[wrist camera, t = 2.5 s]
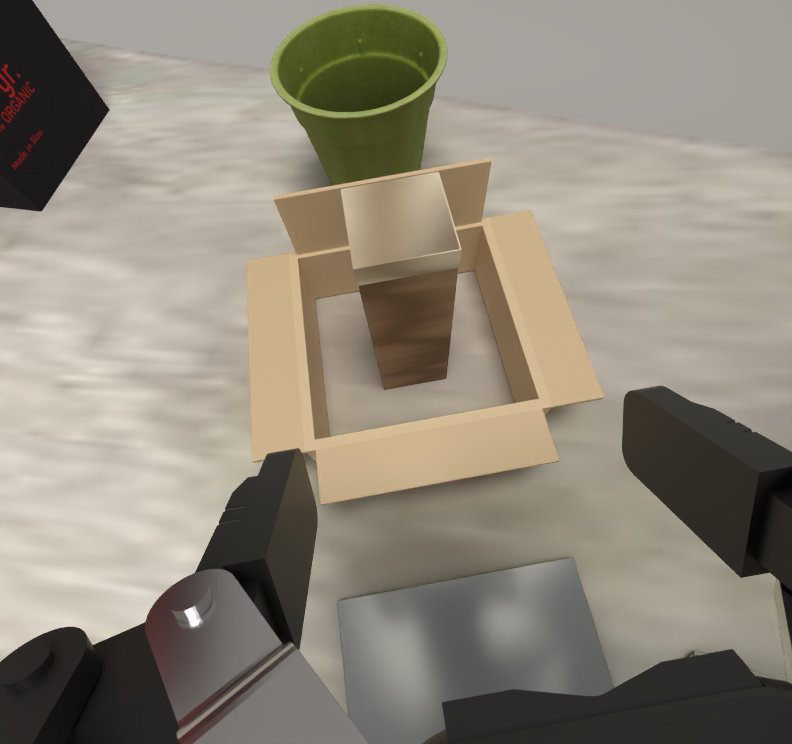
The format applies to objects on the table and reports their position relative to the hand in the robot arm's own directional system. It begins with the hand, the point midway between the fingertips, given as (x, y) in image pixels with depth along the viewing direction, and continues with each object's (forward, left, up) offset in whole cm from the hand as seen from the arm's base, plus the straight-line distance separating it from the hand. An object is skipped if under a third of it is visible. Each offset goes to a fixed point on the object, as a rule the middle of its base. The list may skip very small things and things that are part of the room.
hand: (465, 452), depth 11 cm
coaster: (0, +11, -18) cm, 21 cm away
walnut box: (0, -11, -18) cm, 21 cm away
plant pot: (0, -28, -18) cm, 34 cm away
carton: (0, -10, -18) cm, 20 cm away
